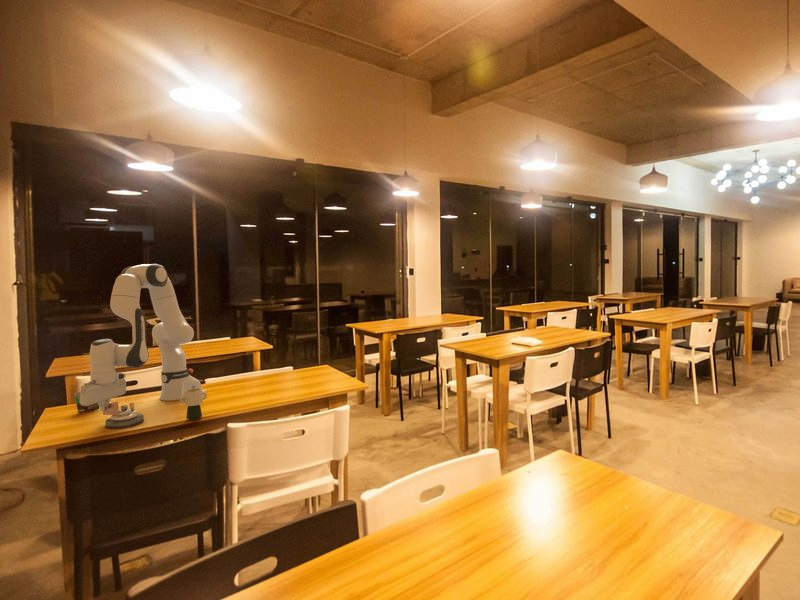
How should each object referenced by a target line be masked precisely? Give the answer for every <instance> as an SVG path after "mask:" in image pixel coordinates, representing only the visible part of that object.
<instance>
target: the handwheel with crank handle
mask: <svg viewBox="0 0 800 600" xmlns="http://www.w3.org/2000/svg"><path fill="white" fill-rule="evenodd" d="M128 409H131V411H135V403H134V402H129V408H128V405H127V404H123V405H121V406H120V410H121V411H126V410H128ZM144 420H145V415H144V414H143V413H139V412H138V417H136V418H134V419H131V420H127V421H120V422H115V421H112V420H111V417H109V418H107V419H106V420H105V425H104V426H105V428H107V429H111V430H117V429H118V430H119V429H125V428H131V427H135V426H138V425H140V424H142V423H144Z"/></svg>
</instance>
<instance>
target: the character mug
mask: <svg viewBox="0 0 800 600" xmlns="http://www.w3.org/2000/svg"><path fill="white" fill-rule="evenodd" d="M201 388H202V387H201ZM201 388H191V389H187V390H185V391H184V393H185V395H183V396H180V400H179V403H180V404H184V405H185V406H187V410H186V419H187V420H192V421H194V420H199V419H201V418H202V417H203V413H202V407H201V405H202V403H203V400H206V399H207V398H208V396H207V393H208V392H207V391H206V392H202V389H201ZM203 396H204V397H203ZM182 398H185V399H184V400H182Z"/></svg>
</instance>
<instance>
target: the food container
mask: <svg viewBox="0 0 800 600" xmlns="http://www.w3.org/2000/svg"><path fill="white" fill-rule="evenodd" d="M73 398H75V403H76V410H77V413H78V412H79V413H78V414H81V413H80V412H83V413H82V414H85V413H84V412H88V413H91V412H90V411H92V412H95V411H94V410H96V411H98V410H99V409H100V406H99V405H98V403H95V404H92V405H89V406H82V405H81V404H80V391H79V392H77V391H76V392H74V394H73ZM97 409H98V410H97Z"/></svg>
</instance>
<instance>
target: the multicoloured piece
mask: <svg viewBox="0 0 800 600" xmlns="http://www.w3.org/2000/svg"><path fill="white" fill-rule="evenodd" d="M138 413H139V412H138V411H137V410H134V411H131V409H130V408H128V410H126V411H121V409H120V410H119V402H118V401H110V403H109V405H108V410H105V411H102V415H103V416H105V415H106V416H111V417H110V418H111V420H112V421H115V422H120V421H127V420H131V419H134V418H136V417H138Z"/></svg>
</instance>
